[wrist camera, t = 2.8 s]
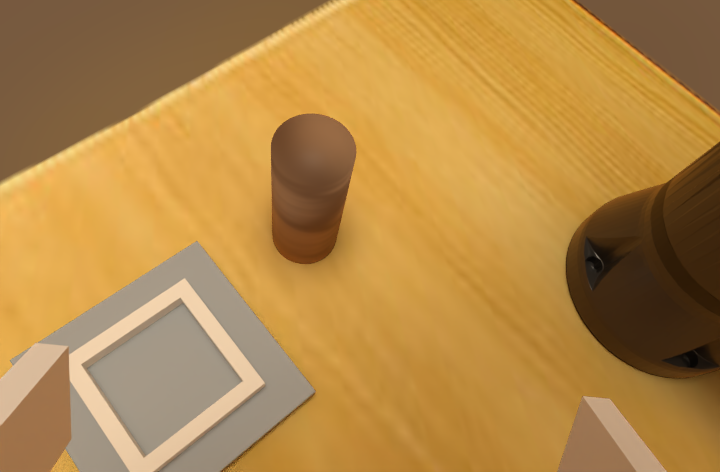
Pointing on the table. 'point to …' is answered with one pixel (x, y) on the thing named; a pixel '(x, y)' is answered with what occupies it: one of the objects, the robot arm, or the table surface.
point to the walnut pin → (309, 185)
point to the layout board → (174, 373)
